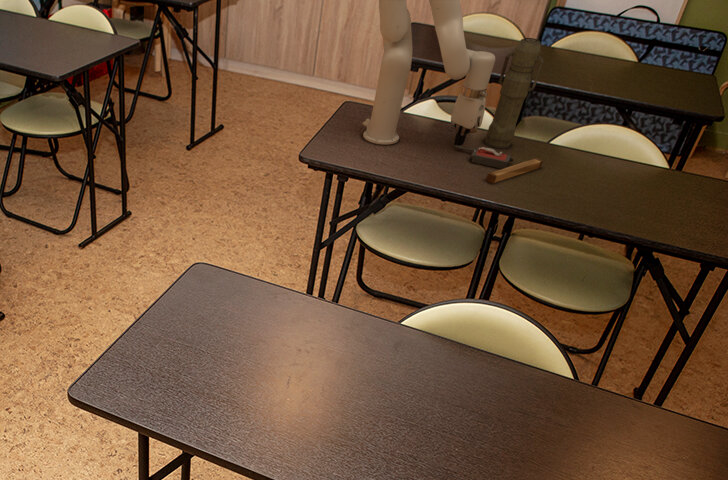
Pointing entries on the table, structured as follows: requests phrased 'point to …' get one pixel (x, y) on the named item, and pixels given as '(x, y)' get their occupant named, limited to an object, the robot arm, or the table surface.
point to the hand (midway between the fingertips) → (458, 144)
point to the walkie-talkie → (488, 157)
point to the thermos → (513, 92)
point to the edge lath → (514, 170)
